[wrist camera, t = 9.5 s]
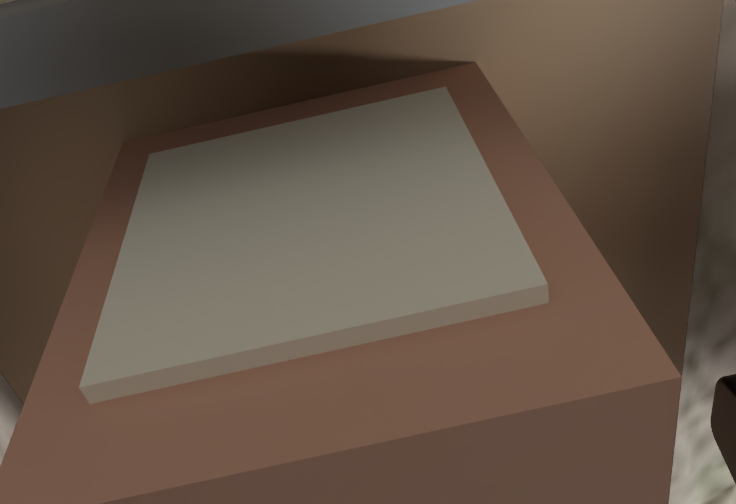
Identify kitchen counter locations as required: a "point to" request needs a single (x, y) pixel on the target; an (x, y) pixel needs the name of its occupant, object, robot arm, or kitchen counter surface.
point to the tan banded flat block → (345, 73)
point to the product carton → (345, 322)
